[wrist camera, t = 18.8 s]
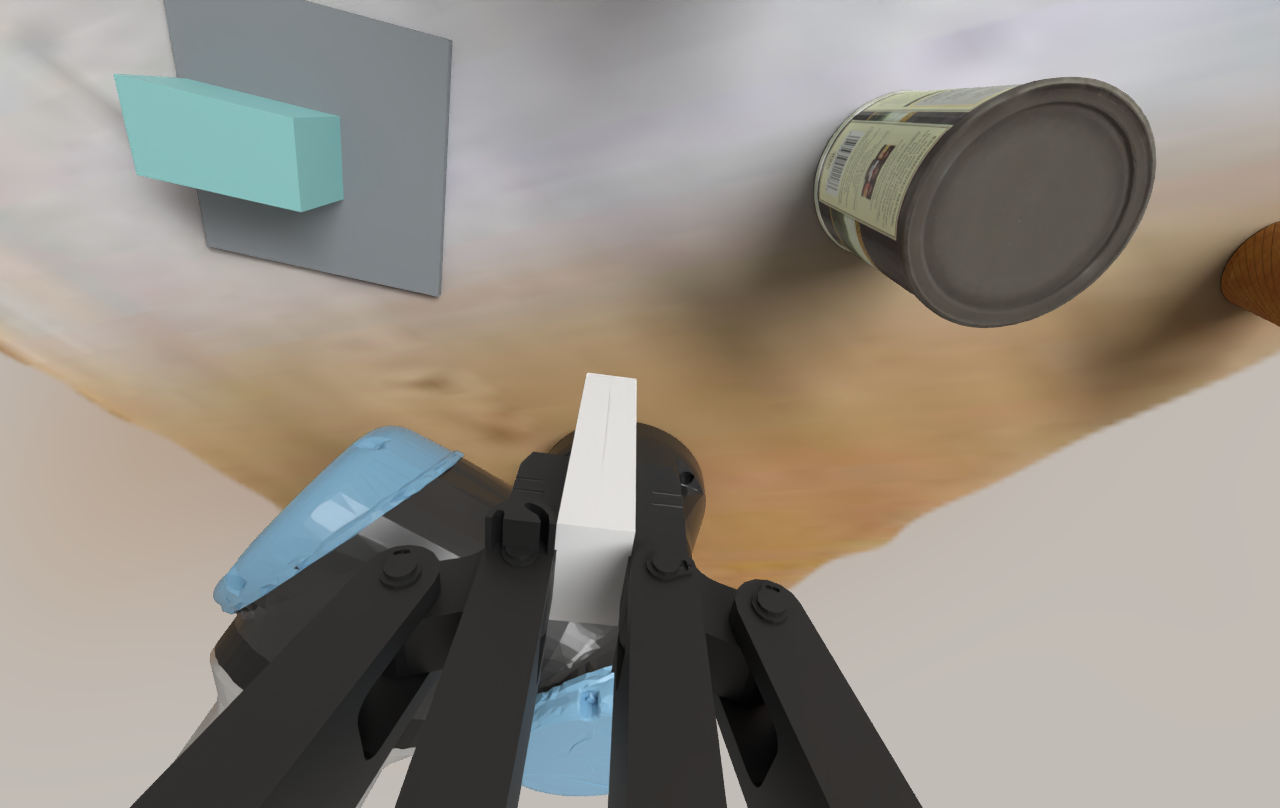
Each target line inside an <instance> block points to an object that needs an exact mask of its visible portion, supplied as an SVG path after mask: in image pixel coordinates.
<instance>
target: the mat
mask: <svg viewBox="0 0 1280 808" xmlns="http://www.w3.org/2000/svg"><path fill="white" fill-rule="evenodd" d="M164 5H165V11H166V16H167V22H168V28H169V33H170V39H171V45H172V50H173V56H174V62H175V67H176V73H177V78H187V79H191V80H195V81H199V82H203V83H207V84H211V85H215V86H219V87H223V88H227V89H231V90H235V91H239V92H243V93H247V94H251V95H255V96H259V97H263V98H267V99H271V100H275V101H279V102H283V103H287V104H291V105H296V106H300V107H304V108H308V109H312V110H316V111H320V112H324V113H328V114H332V115H336V116H340V133H341V153H342V174H343V194H344V199H343V200H340V201H336V202H333V203H330V204H327V205H323V206H320V207H317V208H314V209H310V210H307V211H304V212H298V211H293V210H289V209H285V208H280V207H276V206H271V205H267V204H263V203H258V202H254V201H249V200H245V199H241V198H236V197H232V196H228V195H223V194H219V193H214V192H210V191H206V190H201V189H197V192H198V198H199V203H200V209H201V215H202V220H203V226H204V232H205V237H206V243H207V246H208V247H213V248H217V249H222V250H227V251H231V252H236V253H240V254H245V255H249V256H254V257H258V258H263V259H268V260H272V261H277V262H281V263H286V264H290V265H295V266H300V267H304V268H309V269H313V270H318V271H322V272H327V273H331V274H336V275H341V276H345V277H350V278H354V279H359V280H363V281H368V282H373V283H377V284H382V285H386V286H391V287H395V288H400V289H404V290H409V291H414V292H418V293H423V294H427V295H432V296H436V297H438V296H440V295H441V280H442V257H443V235H444V212H445V190H446V168H447V145H448V123H449V101H450V78H451V56H452V41H451V40H448V39H445V38H441V37H437V36H434V35H430V34H426V33H423V32H419V31H415V30H412V29H408V28H404V27H401V26H397V25H393V24H390V23H386V22H382V21H379V20H375V19H371V18H368V17H364V16H360V15H357V14H353V13H349V12H345V11H342V10H338V9H334V8H331V7H327V6H323V5H320V4H316V3H312V2H309V1H305V0H164Z"/></svg>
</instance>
